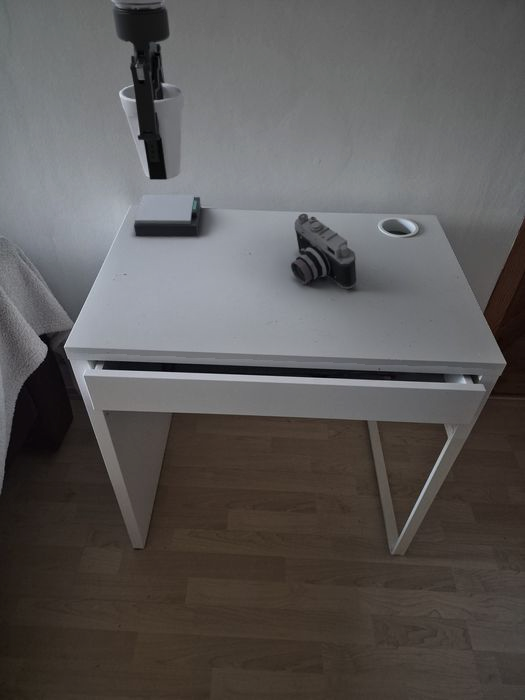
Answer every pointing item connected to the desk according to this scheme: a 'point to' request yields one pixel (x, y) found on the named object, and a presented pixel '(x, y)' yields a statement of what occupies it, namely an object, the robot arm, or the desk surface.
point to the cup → (168, 125)
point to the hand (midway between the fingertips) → (161, 167)
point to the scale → (168, 215)
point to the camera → (322, 254)
